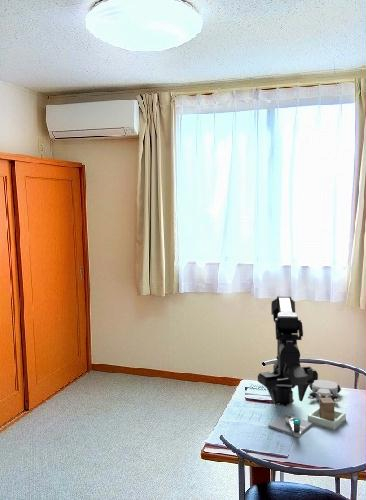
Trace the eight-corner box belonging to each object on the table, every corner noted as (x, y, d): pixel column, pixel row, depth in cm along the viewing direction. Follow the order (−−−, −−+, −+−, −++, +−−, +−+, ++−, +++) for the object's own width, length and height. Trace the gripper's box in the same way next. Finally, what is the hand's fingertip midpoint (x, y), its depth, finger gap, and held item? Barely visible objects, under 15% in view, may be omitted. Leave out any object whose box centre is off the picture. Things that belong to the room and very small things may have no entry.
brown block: (319, 417, 163) (319, 397, 163) (330, 416, 163) (330, 397, 162) (322, 422, 159) (322, 402, 159) (334, 422, 159) (334, 402, 158)
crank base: (268, 427, 158) (268, 424, 158) (284, 415, 166) (284, 413, 166) (297, 437, 150) (297, 434, 150) (313, 424, 159) (313, 422, 159)
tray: (307, 422, 161) (307, 415, 160) (319, 412, 168) (319, 405, 168) (334, 430, 154) (334, 423, 154) (345, 419, 162) (345, 413, 161)
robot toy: (340, 409, 173) (341, 391, 186) (340, 397, 172) (341, 380, 186) (306, 405, 177) (310, 387, 191) (306, 393, 176) (310, 377, 190)
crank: (284, 420, 160) (284, 406, 159) (294, 420, 160) (294, 405, 159) (292, 438, 148) (292, 422, 147) (303, 438, 148) (303, 422, 147)
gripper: (274, 365, 135) (274, 417, 137) (328, 358, 141) (328, 408, 142) (256, 355, 146) (257, 403, 147) (308, 348, 152) (308, 395, 153)
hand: (288, 402), depth 147 cm, fingers open, 9 cm apart
